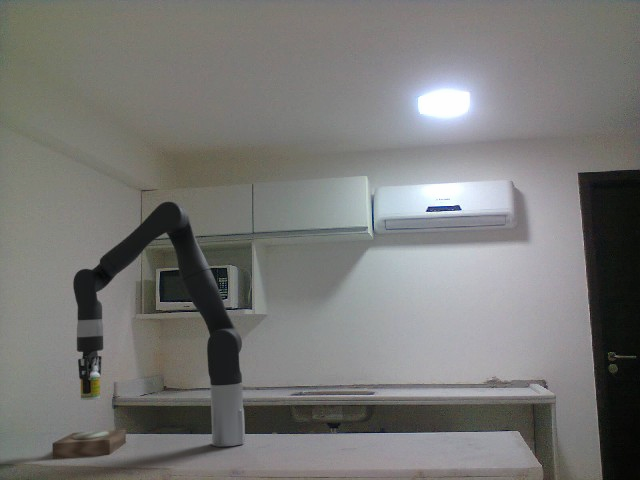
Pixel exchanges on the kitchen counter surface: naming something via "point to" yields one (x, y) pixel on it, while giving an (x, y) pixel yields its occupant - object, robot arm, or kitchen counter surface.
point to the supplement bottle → (92, 387)
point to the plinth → (89, 443)
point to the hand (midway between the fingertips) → (90, 392)
